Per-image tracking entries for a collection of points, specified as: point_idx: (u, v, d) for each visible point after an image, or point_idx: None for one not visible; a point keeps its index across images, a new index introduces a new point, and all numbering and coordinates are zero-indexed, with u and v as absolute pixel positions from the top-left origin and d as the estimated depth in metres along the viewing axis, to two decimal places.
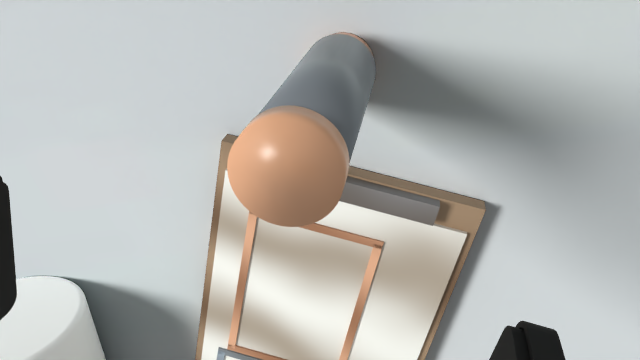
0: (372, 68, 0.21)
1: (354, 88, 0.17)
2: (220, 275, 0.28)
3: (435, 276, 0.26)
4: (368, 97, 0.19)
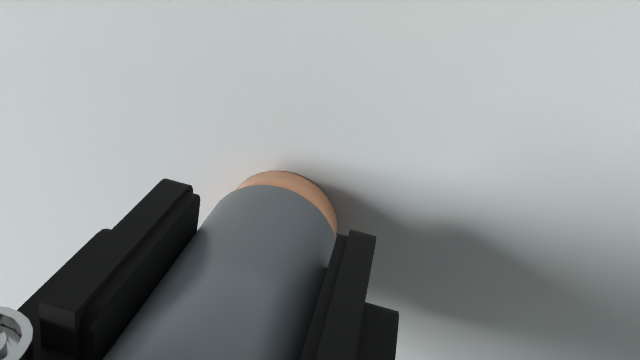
0: (326, 259, 0.11)
1: None
2: None
3: None
4: None
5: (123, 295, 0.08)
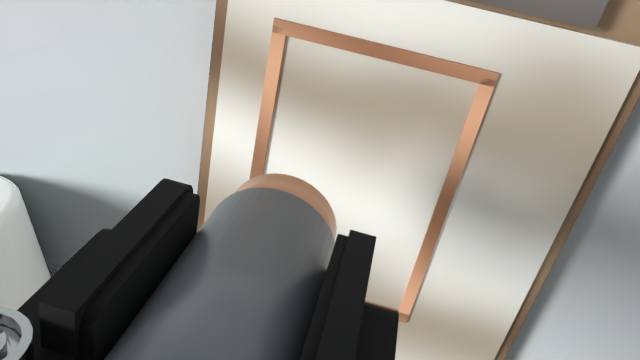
0: (325, 262, 0.11)
1: None
2: (224, 150, 0.18)
3: (581, 134, 0.15)
4: None
5: (123, 295, 0.08)
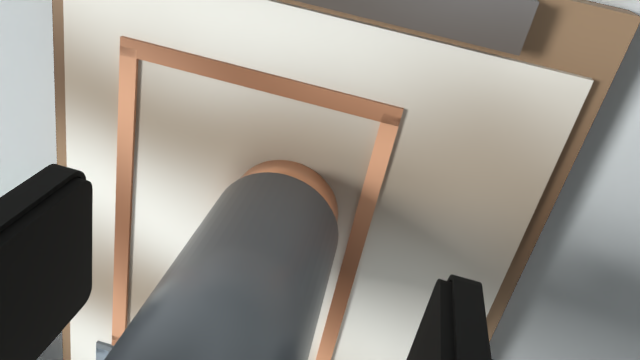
0: (329, 242, 0.11)
1: None
2: None
3: (512, 187, 0.12)
4: (315, 325, 0.10)
5: None
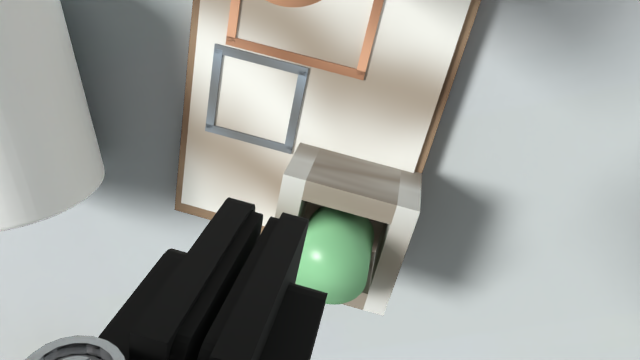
0: None
1: None
2: None
3: None
4: None
5: (206, 321, 0.08)
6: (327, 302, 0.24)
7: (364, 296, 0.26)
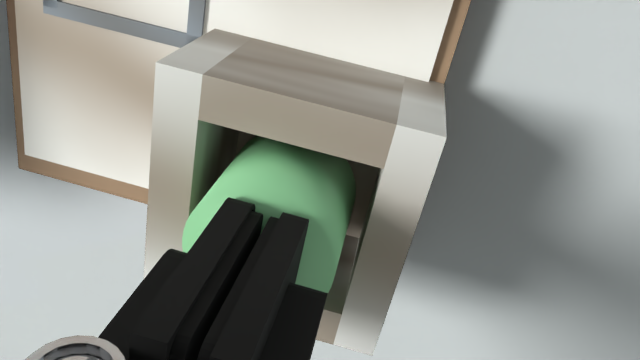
0: None
1: None
2: None
3: None
4: None
5: (205, 321, 0.08)
6: None
7: (335, 319, 0.13)
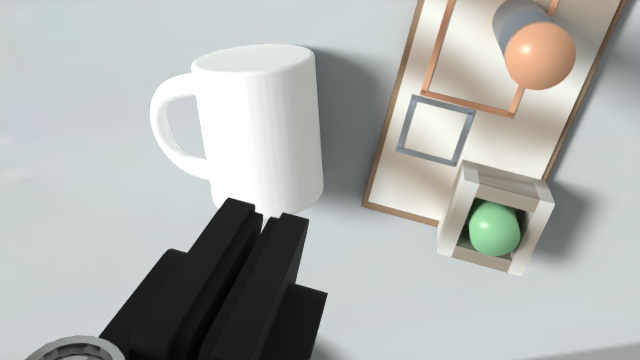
0: None
1: None
2: (426, 20, 0.35)
3: (607, 3, 0.33)
4: None
5: (205, 321, 0.08)
6: (491, 255, 0.37)
7: (509, 262, 0.38)
